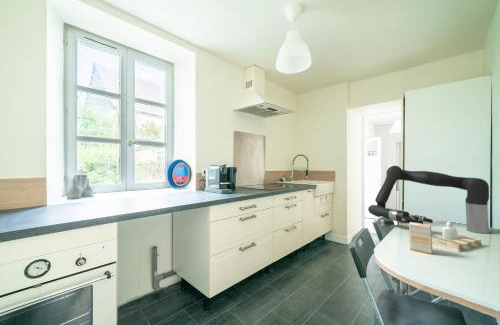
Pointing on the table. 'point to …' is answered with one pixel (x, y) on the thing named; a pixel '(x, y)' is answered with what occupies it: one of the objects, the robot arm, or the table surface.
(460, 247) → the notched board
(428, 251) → the supplement box
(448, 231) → the eye dropper bottle
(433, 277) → the table surface
